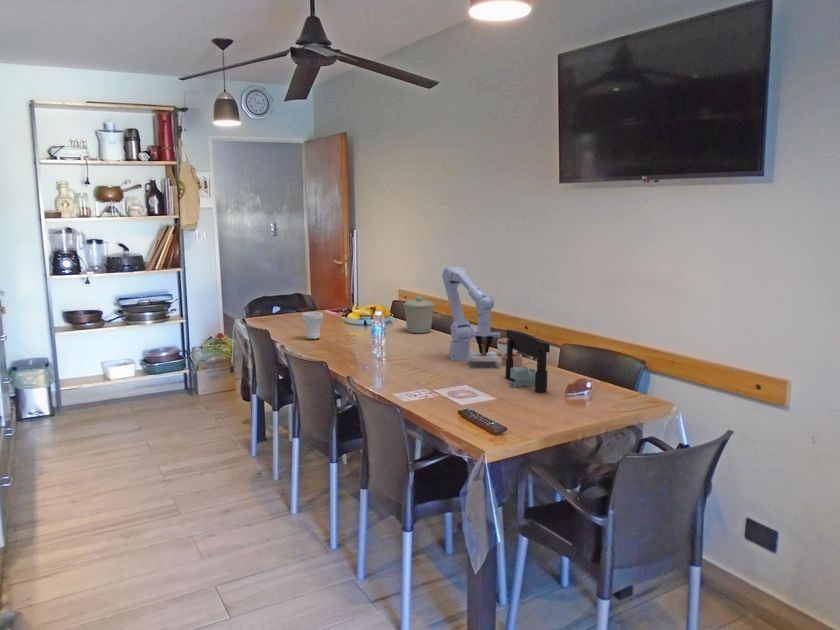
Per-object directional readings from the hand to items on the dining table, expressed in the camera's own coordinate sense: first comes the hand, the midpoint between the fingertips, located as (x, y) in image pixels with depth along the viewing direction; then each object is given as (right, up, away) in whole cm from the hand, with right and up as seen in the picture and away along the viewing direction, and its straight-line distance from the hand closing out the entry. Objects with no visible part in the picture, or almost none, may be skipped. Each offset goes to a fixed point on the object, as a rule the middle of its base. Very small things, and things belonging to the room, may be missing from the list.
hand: (483, 352), depth 301 cm
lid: (0, -2, 0) cm, 2 cm away
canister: (-30, +7, +80) cm, 85 cm away
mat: (0, -6, +1) cm, 6 cm away
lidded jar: (+14, -3, +21) cm, 25 cm away
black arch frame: (+14, -12, -30) cm, 36 cm away
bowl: (+13, -6, +2) cm, 14 cm away
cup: (-87, +4, +59) cm, 106 cm away
